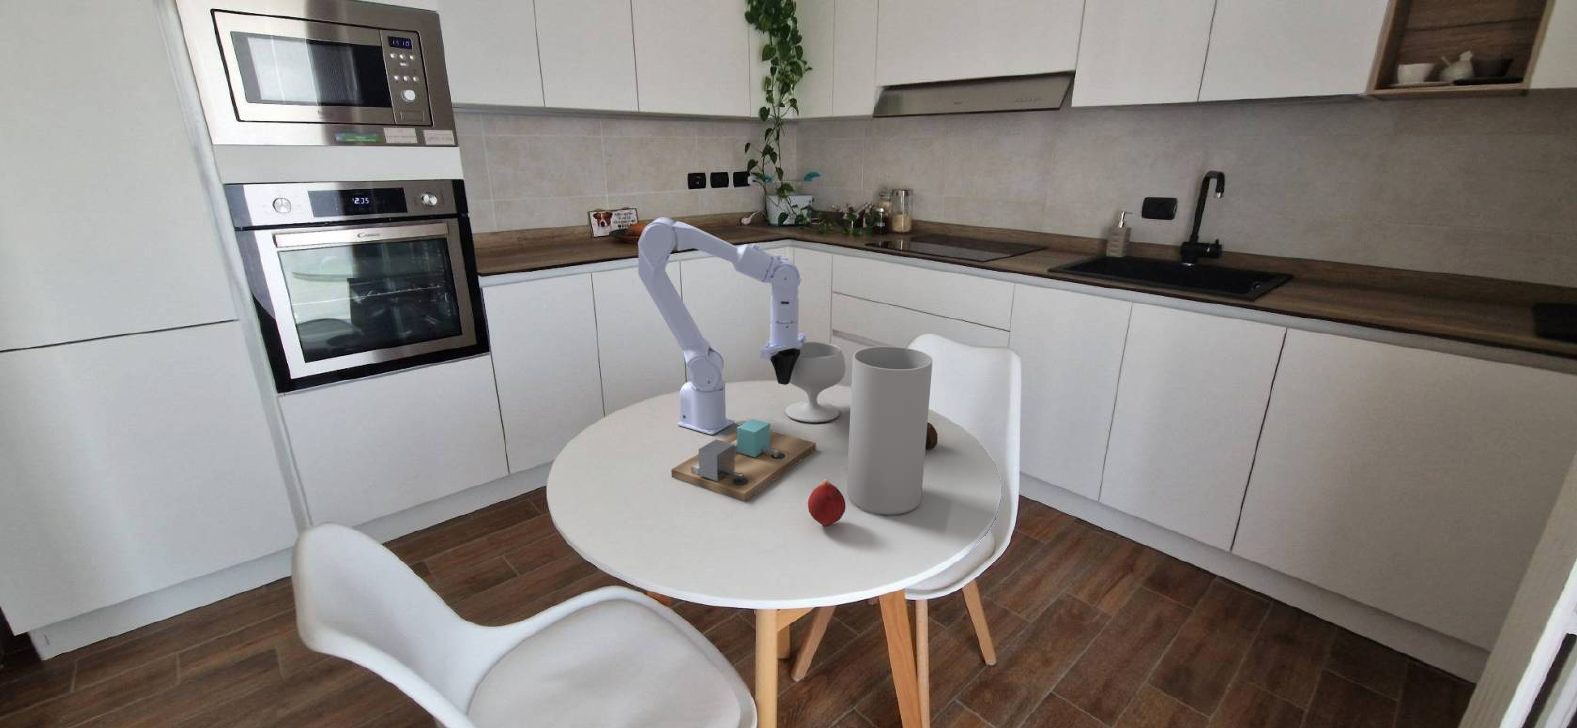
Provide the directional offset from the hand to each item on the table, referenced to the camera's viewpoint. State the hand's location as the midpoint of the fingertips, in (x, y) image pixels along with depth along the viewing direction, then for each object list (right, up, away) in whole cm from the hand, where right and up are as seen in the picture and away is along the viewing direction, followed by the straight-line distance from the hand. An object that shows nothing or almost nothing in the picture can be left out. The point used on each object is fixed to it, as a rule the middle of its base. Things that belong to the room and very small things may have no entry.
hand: (783, 383), depth 140 cm
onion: (+7, -22, -35) cm, 41 cm away
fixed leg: (-10, -15, -23) cm, 30 cm away
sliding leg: (-4, -13, -14) cm, 19 cm away
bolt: (+22, -14, -9) cm, 28 cm away
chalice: (+6, -7, +9) cm, 13 cm away
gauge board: (-7, -14, -14) cm, 22 cm away
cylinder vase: (+17, -19, -26) cm, 37 cm away
